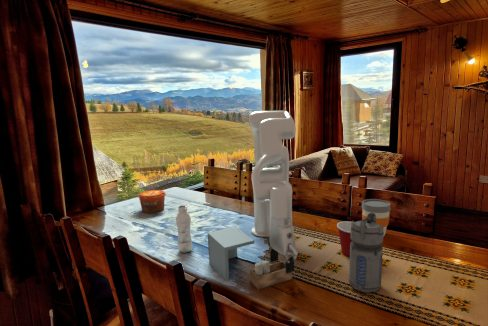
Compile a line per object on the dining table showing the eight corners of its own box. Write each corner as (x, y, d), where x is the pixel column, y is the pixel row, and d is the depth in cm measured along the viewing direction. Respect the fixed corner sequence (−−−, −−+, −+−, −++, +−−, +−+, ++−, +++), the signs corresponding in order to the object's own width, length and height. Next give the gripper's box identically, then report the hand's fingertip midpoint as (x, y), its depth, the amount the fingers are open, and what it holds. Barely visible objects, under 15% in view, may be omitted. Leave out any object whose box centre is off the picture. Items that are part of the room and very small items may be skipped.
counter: (236, 255, 138) (234, 226, 136) (255, 271, 124) (254, 240, 122) (209, 262, 133) (207, 232, 131) (226, 280, 119) (224, 247, 117)
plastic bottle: (178, 255, 140) (175, 210, 136) (177, 248, 146) (174, 205, 142) (193, 253, 141) (191, 208, 138) (191, 246, 148) (189, 203, 144)
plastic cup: (357, 262, 130) (358, 233, 127) (331, 254, 137) (332, 226, 134) (367, 252, 138) (369, 224, 135) (343, 245, 145) (343, 219, 142)
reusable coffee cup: (358, 236, 154) (359, 205, 151) (362, 226, 165) (363, 197, 162) (388, 240, 148) (389, 208, 145) (390, 230, 159) (392, 200, 156)
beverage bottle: (385, 280, 116) (389, 212, 111) (375, 299, 105) (379, 224, 101) (356, 272, 122) (358, 207, 117) (344, 289, 111) (346, 218, 107)
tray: (282, 271, 124) (282, 252, 123) (292, 278, 119) (292, 259, 118) (249, 281, 118) (249, 262, 116) (258, 289, 113) (257, 269, 111)
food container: (139, 207, 206) (137, 191, 204) (165, 204, 211) (164, 188, 209) (139, 215, 191) (137, 197, 189) (167, 212, 196) (166, 194, 194)
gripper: (305, 225, 110) (305, 273, 113) (276, 212, 126) (277, 255, 128) (286, 230, 107) (287, 279, 110) (259, 216, 122) (260, 259, 125)
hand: (281, 266), depth 119 cm, fingers open, 9 cm apart
